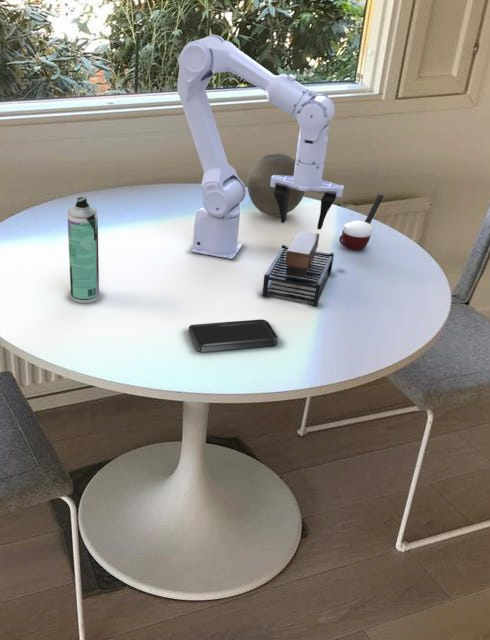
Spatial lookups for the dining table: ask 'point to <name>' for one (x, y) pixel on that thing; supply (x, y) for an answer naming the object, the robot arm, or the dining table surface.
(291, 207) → the cantaloupe
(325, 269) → the shoe rack
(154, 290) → the dining table surface
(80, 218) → the spray can
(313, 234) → the shoe brush
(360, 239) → the cocoa
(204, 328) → the phone
